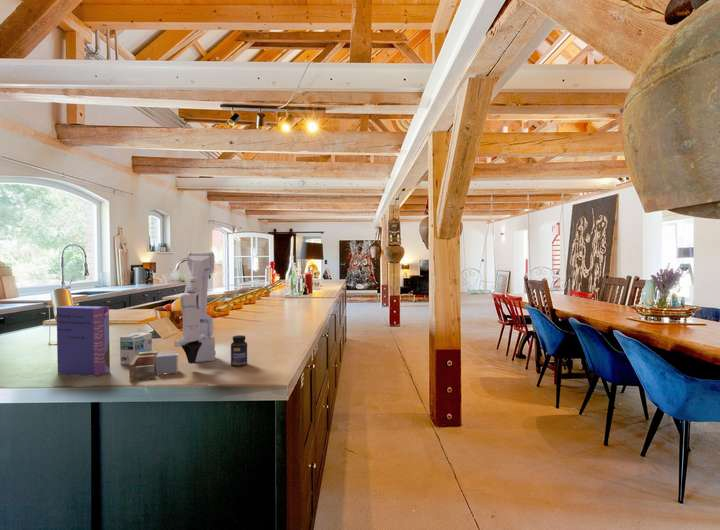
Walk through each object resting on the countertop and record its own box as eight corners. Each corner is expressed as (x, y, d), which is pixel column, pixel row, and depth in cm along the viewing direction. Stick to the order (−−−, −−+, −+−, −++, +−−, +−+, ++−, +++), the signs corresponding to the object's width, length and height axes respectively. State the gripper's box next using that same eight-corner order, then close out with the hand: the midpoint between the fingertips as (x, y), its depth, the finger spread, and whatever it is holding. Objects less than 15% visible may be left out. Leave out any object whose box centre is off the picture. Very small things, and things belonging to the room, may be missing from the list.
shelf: (157, 367, 153) (157, 350, 153) (153, 378, 139) (153, 359, 139) (136, 369, 150) (135, 352, 150) (129, 381, 137) (129, 361, 136)
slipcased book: (178, 370, 149) (178, 352, 149) (177, 373, 146) (177, 355, 146) (157, 372, 147) (156, 354, 147) (155, 375, 143) (155, 357, 143)
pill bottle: (232, 367, 152) (232, 338, 152) (229, 364, 158) (229, 335, 158) (249, 365, 155) (248, 337, 155) (245, 362, 161) (245, 334, 160)
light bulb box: (135, 365, 157) (134, 337, 157) (119, 364, 158) (119, 336, 158) (153, 358, 168) (152, 332, 168) (138, 357, 169) (137, 331, 168)
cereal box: (109, 372, 147) (108, 306, 147) (98, 376, 143) (97, 307, 142) (69, 369, 151) (68, 305, 150) (57, 373, 146) (56, 306, 146)
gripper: (196, 322, 157) (196, 357, 157) (167, 328, 143) (167, 366, 144) (211, 322, 155) (211, 358, 155) (183, 329, 141) (183, 368, 141)
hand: (191, 362), depth 149 cm, fingers closed
